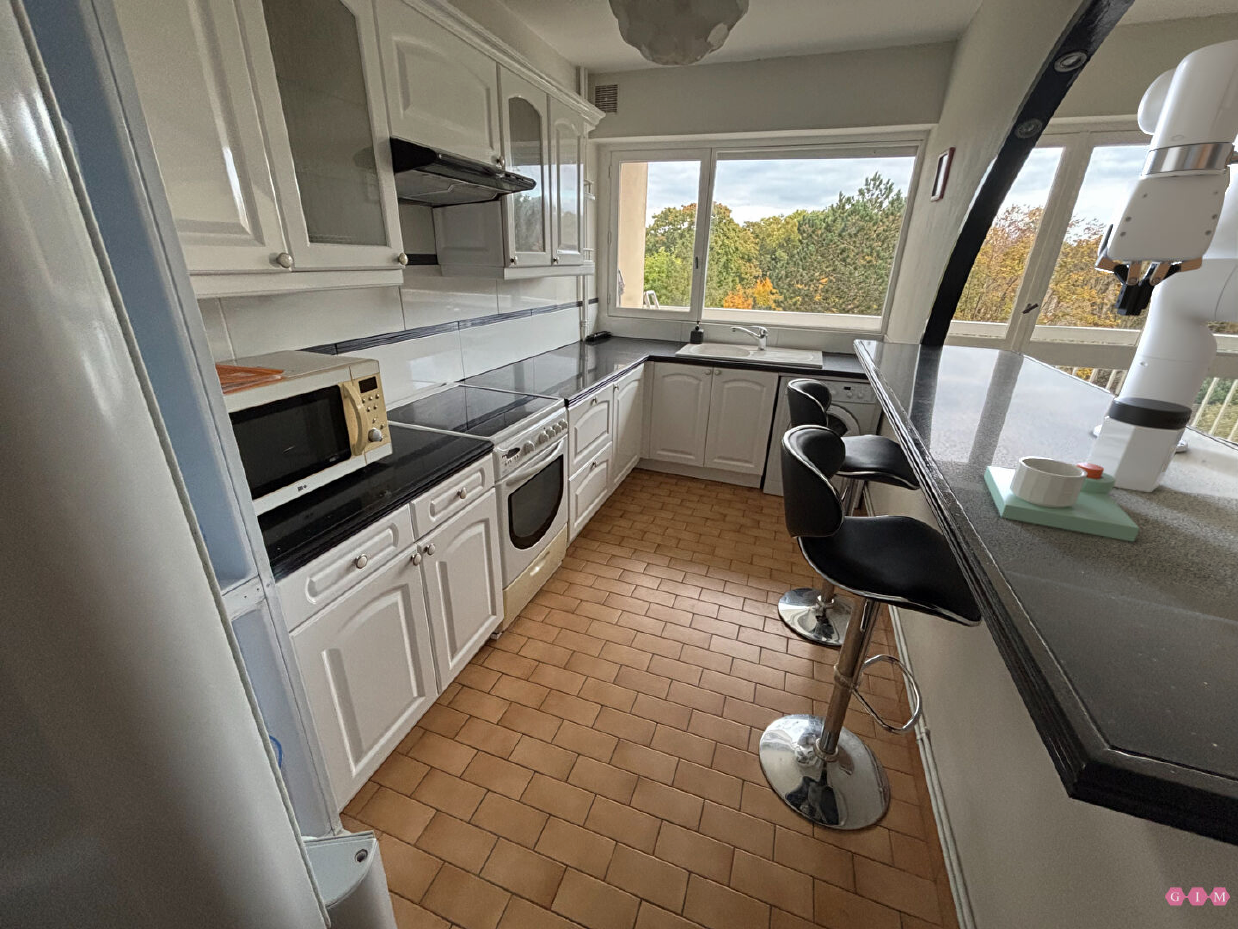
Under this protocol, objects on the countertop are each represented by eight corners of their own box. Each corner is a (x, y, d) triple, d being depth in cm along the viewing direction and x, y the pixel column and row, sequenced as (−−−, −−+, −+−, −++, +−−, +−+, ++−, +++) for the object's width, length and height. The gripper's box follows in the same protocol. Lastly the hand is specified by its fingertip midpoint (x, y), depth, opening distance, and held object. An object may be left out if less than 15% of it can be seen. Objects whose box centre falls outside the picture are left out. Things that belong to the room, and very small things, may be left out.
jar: (1147, 497, 71) (1184, 415, 67) (1075, 477, 78) (1105, 401, 73) (1165, 483, 76) (1201, 406, 71) (1096, 466, 82) (1124, 394, 78)
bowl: (1004, 483, 70) (1014, 453, 69) (1065, 493, 67) (1077, 462, 66) (1014, 503, 65) (1025, 470, 63) (1081, 514, 62) (1095, 481, 60)
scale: (982, 475, 78) (989, 453, 77) (1097, 493, 72) (1106, 470, 71) (1001, 517, 65) (1009, 493, 64) (1143, 544, 59) (1155, 517, 58)
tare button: (1070, 471, 72) (1074, 461, 71) (1096, 474, 71) (1100, 464, 70) (1076, 478, 69) (1080, 467, 69) (1103, 482, 68) (1107, 471, 68)
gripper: (1247, 165, 64) (1186, 314, 71) (1097, 173, 70) (1054, 310, 78) (1286, 156, 58) (1214, 320, 65) (1117, 166, 64) (1068, 315, 71)
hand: (1127, 314), depth 71 cm, fingers closed
